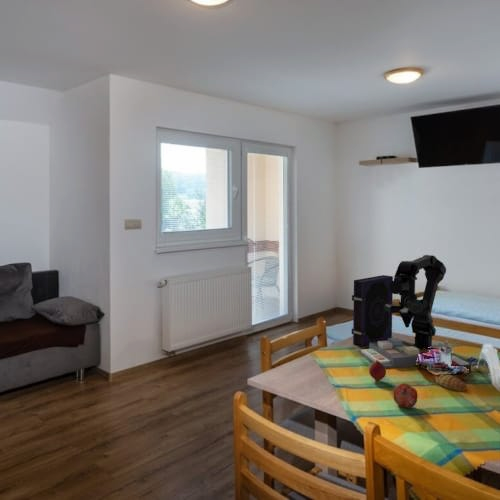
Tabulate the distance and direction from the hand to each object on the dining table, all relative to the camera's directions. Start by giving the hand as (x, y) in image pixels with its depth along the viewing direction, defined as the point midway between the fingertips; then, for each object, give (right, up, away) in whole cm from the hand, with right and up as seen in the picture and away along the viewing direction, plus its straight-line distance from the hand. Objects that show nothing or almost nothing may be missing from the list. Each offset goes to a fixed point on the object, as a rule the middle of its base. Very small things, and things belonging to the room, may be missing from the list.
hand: (407, 327), depth 197 cm
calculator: (+9, -14, -17) cm, 24 cm away
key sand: (-1, -10, -9) cm, 13 cm away
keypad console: (-9, -12, -4) cm, 16 cm away
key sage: (-3, -11, -3) cm, 12 cm away
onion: (-20, -15, -28) cm, 38 cm away
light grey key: (-10, -9, -1) cm, 13 cm away
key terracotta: (-8, -12, -7) cm, 16 cm away
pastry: (+4, -16, -33) cm, 37 cm away
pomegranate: (-17, -17, -49) cm, 55 cm away
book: (-9, -10, +22) cm, 26 cm away
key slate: (-4, -9, +4) cm, 10 cm away
